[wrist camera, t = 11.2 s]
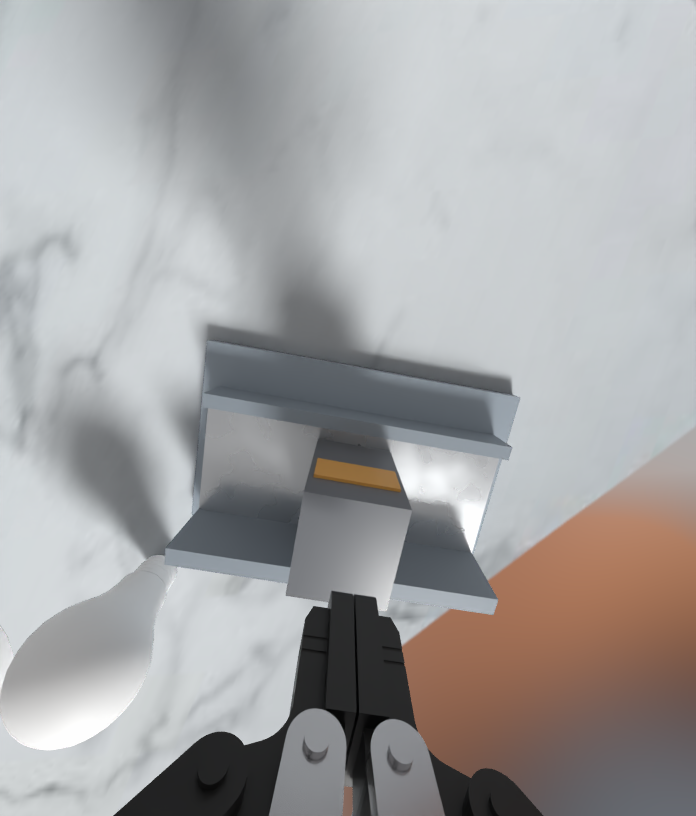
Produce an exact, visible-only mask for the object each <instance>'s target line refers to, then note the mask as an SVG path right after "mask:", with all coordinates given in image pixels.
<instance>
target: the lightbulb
mask: <svg viewBox="0 0 696 816" xmlns="http://www.w3.org/2000/svg"><path fill="white" fill-rule="evenodd" d="M164 561H165V556H163V555H154V556H151V557H149V558H147V559H146V560H145V561H144V562H143V563H142V564H141V565H140V566H139V567H138V568H137V569H136V570H135V571H134V572H132V573H130V574H128V575H127V576H125V577H124V578H123V579H122V580H121V581H120V582H119V583H118V584H117V585H115V586H114V587H113V588H111V589H110V590H109V591H107V592H105V593H103V594H101V595H100V596H97V597H94V598H91V599H88V600H85V601H83V602H80V603H78V604H75V605H73V606H71V607H68V608H66V609H64V610H62V611H61V612H59V613H57V614H56V615H54V616H53V617H51V618H50V619H48V620H47V621H45V622H44V623H43V624H42V625H41V626H40V627H39V628H38V629H37V630H36V631H34V632H33V633H32V634H31V635H30V636H29V637H28V638H27V639H26V641H25V642H24V643H23V645H22V646H21V647H20V649H19V650H18V652H17V653H16V655H15V657H14V658H13V660H12V662H11V664H10V665H9V667H8V669H7V671H6V674H5V678H4V681H3V684H2V688H1V693H0V713H1V717H2V720H3V723H4V726H5V728H6V730H7V731H8V733H9V734H10V735H11V736H12V737H13V738H14V739H15V740H17V741H18V742H19V743H21V744H22V745H25V746H27V747H30V748H34V749H39V750H55V749H61V748H67V747H70V746H74V745H76V744H78V743H80V742H83V741H85V740H87V739H89V738H91V737H92V736H94V735H96V734H97V733H99V732H100V731H102V730H103V729H105V728H106V727H107V726H109V725H110V724H111V723H112V722H113V721H114V720H115V719H116V718H117V717H118V716H119V715H121V714H122V713H123V712H124V710H125V709H126V708H127V707H128V705H129V704H130V703H131V702H132V700H133V699H134V698H135V696H136V695H137V693H138V692H139V690H140V688H141V686H142V685H143V683H144V680H145V678H146V675H147V672H148V669H149V667H150V664H151V659H152V650H153V641H154V625H155V621H156V618H157V615H158V613H159V611H160V609H161V607H162V606H163V604H164V602H165V599H166V595H167V592H168V590H169V588H170V587H171V585H172V583H173V581H174V580H175V578H176V576H177V567H176V566H170V565H164Z"/></svg>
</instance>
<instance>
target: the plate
mask: <svg viewBox="0 0 696 816" xmlns="http://www.w3.org/2000/svg"><path fill="white" fill-rule="evenodd" d="M318 438H319V439H324V440H330V441H335V442H341V443H346V444H352V445H358V446H363V447H369V448H374V449H380V450H386V451H390V452H391V455H392V457H393V460H394V463H395V465H396V468H397V471H398V473H399V476H400V479H401V482H402V484H403V487H404V490H405V492H406V495H407V498H408V500H409V503H410V506H411V509H412V513H411V517H410V521H409V525H408V529H407V533H406V537H405V541H404V542H409V543H415V544H421V545H427V546H433V547H440V548H446V549H452V550H458V551H465V552H472V549H473V546H474V542H475V539H476V536H477V532H478V529H479V525H480V522H481V519H482V515H483V512H484V509H485V505H486V502H487V499H488V495H489V492H490V489H491V485H492V482H493V479H494V475H495V472H496V468H497V465H498V462H499V458H493V457H487V456H481V455H475V454H470V453H464V452H458V451H452V450H447V449H441V448H435V447H429V446H424V445H418V444H412V443H406V442H401V441H395V440H389V439H383V438H378V437H372V436H366V435H360V434H355V433H349V432H343V431H337V430H332V429H326V428H320V427H314V426H309V425H303V424H297V423H291V422H286V421H280V420H274V419H268V418H263V417H257V416H251V415H245V414H240V413H234V412H228V411H222V410H217V409H211V408H208V413H207V424H206V435H205V446H204V456H203V467H202V478H201V489H200V499H199V509H203V510H209V511H215V512H222V513H228V514H234V515H240V516H247V517H253V518H259V519H265V520H272V521H278V522H284V523H290V524H296V525H298V521H299V516H300V510H301V504H302V498H303V493H304V489H305V485H306V481H307V478H308V474H309V470H310V467H311V463H312V459H313V455H314V452H315V448H316V444H317V441H318Z"/></svg>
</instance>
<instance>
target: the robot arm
mask: <svg viewBox="0 0 696 816" xmlns="http://www.w3.org/2000/svg"><path fill="white" fill-rule="evenodd" d="M344 786H348V787H353V812H352V816H543V815H542V814H541V813H540V811H539V810H538V809H537V808H536V807H535V806H534V805H533V804H532V802H531V801H530V800H529V799H528V798H527V797H526V795H524V793H523V792H522V791H521V790H520V789H519V788H518V787H517V785H515V783H514V782H513V781H511V780H510V779H509V778H508V777H507V776H505V775H503V774H502V773H500V772H498V771H496V770H493V769H486V768H485V769H480V770H479V771H477V772H476V773H475V774H474V775H473V776H472V778H469V777H468V776H466V775H464V774H462V773H460V772H458V771H457V770H455V769H453V768H451V767H449V766H448V765H446V764H444V763H443V762H441V761H439V760H438V759H437V758H436V757H435V756H434V755H433V754H432V753H431V752H430V751H429V750H428V748H427V746H426V744H425V742H424V740H423V739H422V737H421V736H420V735H419V733H418V731H417V728H416V724H415V721H414V715H413V709H412V703H411V697H410V691H409V686H408V680H407V674H406V669H405V666H404V658H403V653H402V646H401V640H400V635H399V631H398V630H397V628H396V626H395V625H394V623H393V621H392V619H391V618H390V617H383V616H379V615H378V607H377V599H376V597H371V596H364V595H358V594H354V596H353V594H351V593H344V592H337V591H331V594H330V599H329V604H328V608H323V607H316V606H313V608H312V609H311V611H310V612H309V614H308V615H307V617H306V618H305V623H304V628H303V634H302V639H301V645H300V650H299V656H298V662H297V669H296V676H295V682H294V689H293V695H292V702H291V709H290V715H289V718H288V720H287V721H286V723H285V724H284V726H283V727H282V728H281V729H280V730H279V731H278V732H277V733H275V734H274V735H273V736H271V737H269V738H267V739H265V740H262V741H259V742H255V743H251V744H248V745H244V744H243V743H242V741H241V740H240V739H239V738H238V737H236V736H235V735H233V734H231V733H228V732H215V733H211V734H208V735H206V736H204V737H203V738H201V739H200V740H198V741H197V742H196V743H194V744H193V745H192V746H191V747H190V748H189V749H188V750H187V751H185V752H184V753H183V754H182V755H181V756H180V757H179V758H178V759H177V760H175V761H174V762H173V763H172V764H171V765H170V766H169V767H168V768H166V769H165V770H164V771H163V772H162V773H161V774H160V775H159V776H157V777H156V778H155V779H154V780H153V781H152V782H151V783H150V784H148V785H147V786H146V787H145V788H144V789H143V790H142V791H141V792H139V793H138V794H137V795H136V796H135V797H134V798H133V799H132V800H130V801H129V802H128V803H127V804H126V805H125V806H124V807H123V808H122V809H120V810H119V811H118V812H117V813H116V814H115V815H114V816H342V811H343V795H344Z"/></svg>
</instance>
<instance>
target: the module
mask: <svg viewBox="0 0 696 816" xmlns="http://www.w3.org/2000/svg"><path fill="white" fill-rule="evenodd" d="M411 513H412V509H411V506H410V503H409V500H408V498H407V495H406V492H405V490H404V487H403V484H402V482H401V479H400V476H399V473H398V471H397V468H396V465H395V463H394V460H393V457H392V455H391V452H390V451H386V450H380V449H374V448H369V447H363V446H358V445H352V444H346V443H341V442H335V441H330V440H324V439H319V438H318V441H317V444H316V448H315V452H314V455H313V459H312V463H311V467H310V470H309V474H308V478H307V481H306V485H305V489H304V493H303V498H302V504H301V510H300V516H299V521H298V527H297V533H296V539H295V544H294V550H293V556H292V562H291V567H290V573H289V579H288V585H287V590H286V596H292V597H298V598H304V599H311V600H317V601H323V602H329V599H330V594H331V591H337V592H344V593H351V594H353V596H354V594H358V595H364V596H371V597H376V599H377V607H378V610H381V611H387V607H388V603H389V599H390V596H391V592H392V588H393V584H394V580H395V576H396V572H397V568H398V564H399V560H400V556H401V552H402V548H403V544H404V541H405V537H406V533H407V529H408V525H409V521H410V517H411Z"/></svg>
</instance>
